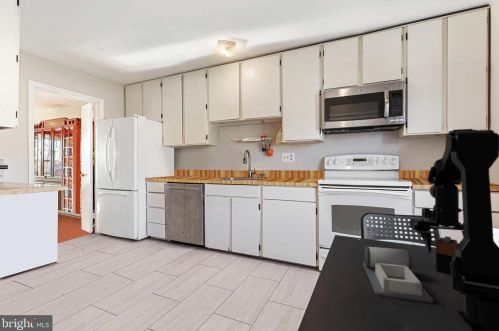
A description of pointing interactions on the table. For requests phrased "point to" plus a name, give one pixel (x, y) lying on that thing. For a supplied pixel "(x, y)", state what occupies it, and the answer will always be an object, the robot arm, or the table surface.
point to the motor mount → (393, 274)
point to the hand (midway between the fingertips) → (446, 254)
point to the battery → (445, 254)
